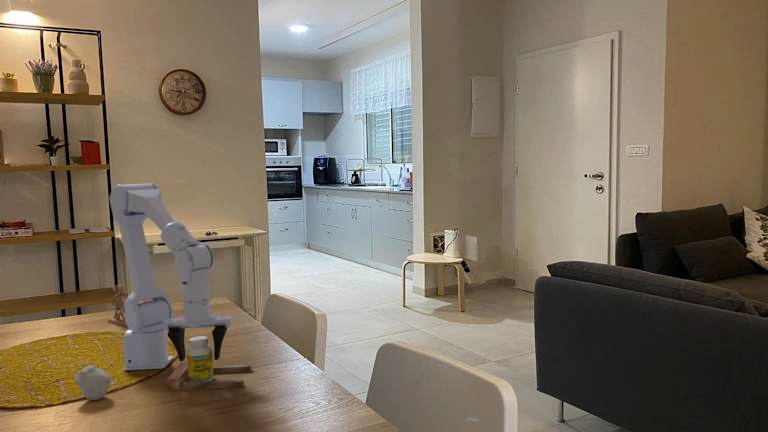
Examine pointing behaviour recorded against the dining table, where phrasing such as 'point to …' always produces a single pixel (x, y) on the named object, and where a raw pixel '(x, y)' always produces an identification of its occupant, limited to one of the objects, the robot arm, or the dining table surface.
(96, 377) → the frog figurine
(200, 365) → the supplement bottle
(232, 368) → the guide channel
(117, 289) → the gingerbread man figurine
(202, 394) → the dining table surface
